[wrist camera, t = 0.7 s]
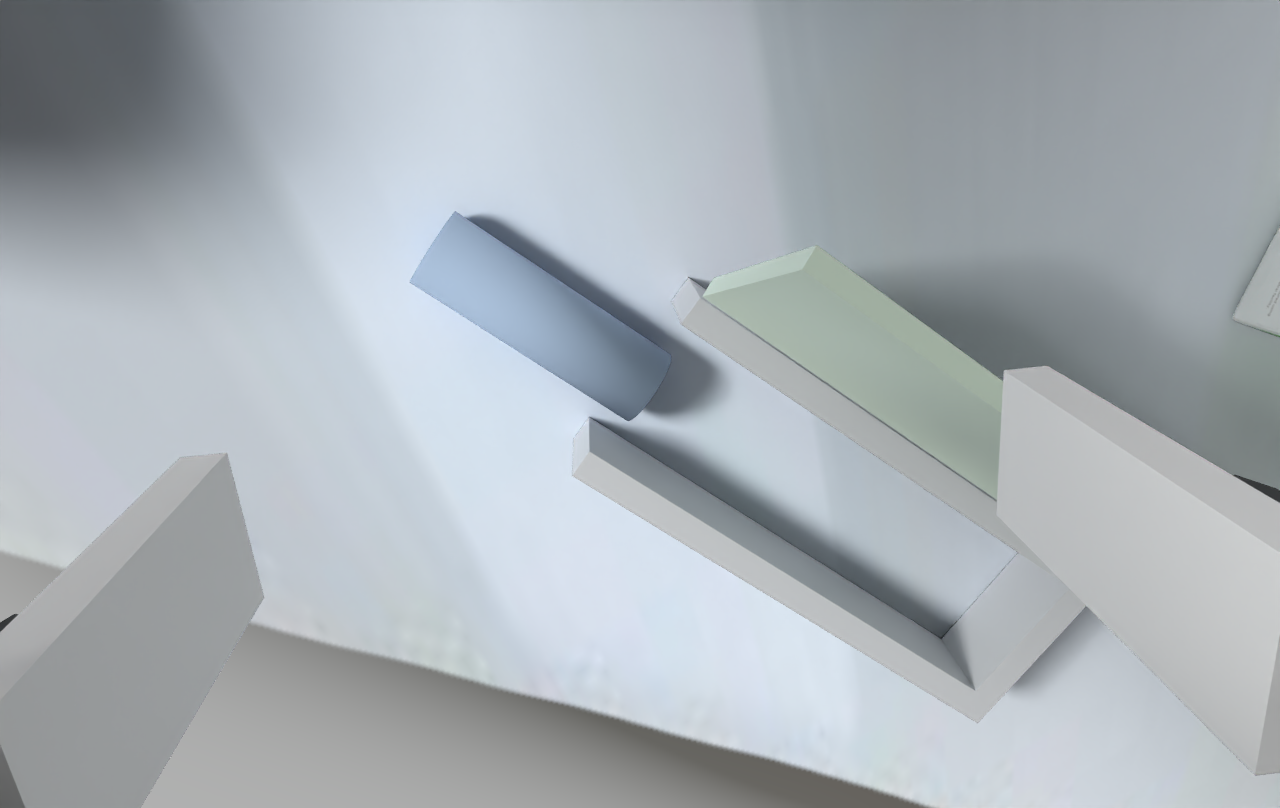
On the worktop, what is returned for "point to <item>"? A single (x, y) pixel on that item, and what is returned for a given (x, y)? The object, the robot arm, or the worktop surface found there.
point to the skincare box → (1263, 293)
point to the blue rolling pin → (541, 317)
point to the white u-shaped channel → (945, 668)
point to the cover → (872, 355)
